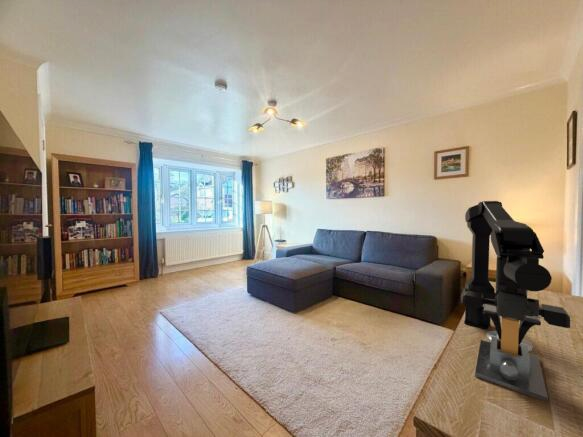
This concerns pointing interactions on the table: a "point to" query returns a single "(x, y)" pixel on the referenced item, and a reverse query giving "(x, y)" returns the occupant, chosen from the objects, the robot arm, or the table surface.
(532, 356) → the bracket
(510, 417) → the table surface
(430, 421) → the table surface
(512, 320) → the orange rectangular prism
